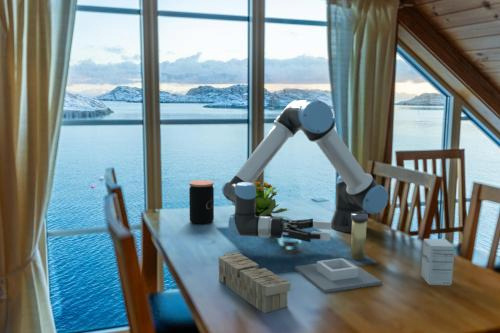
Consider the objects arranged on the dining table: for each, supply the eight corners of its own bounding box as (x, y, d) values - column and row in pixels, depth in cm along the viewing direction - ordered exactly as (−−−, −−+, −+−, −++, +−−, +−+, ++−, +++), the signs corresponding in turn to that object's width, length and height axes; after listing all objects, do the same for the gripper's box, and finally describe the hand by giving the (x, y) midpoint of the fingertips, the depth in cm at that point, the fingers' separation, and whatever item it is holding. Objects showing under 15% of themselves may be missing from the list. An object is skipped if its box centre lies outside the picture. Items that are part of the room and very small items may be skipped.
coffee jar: (209, 226, 209) (209, 185, 207) (186, 224, 211) (185, 184, 209) (216, 219, 220) (216, 180, 217) (194, 218, 222) (193, 179, 219)
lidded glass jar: (360, 254, 176) (362, 211, 173) (369, 259, 170) (371, 215, 168) (346, 255, 174) (348, 212, 171) (354, 261, 168) (357, 216, 166)
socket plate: (347, 262, 167) (347, 251, 167) (381, 284, 149) (382, 271, 148) (294, 269, 160) (295, 257, 160) (323, 293, 142) (324, 280, 141)
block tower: (216, 281, 152) (266, 316, 127) (216, 255, 151) (265, 285, 126) (238, 276, 156) (290, 309, 131) (238, 251, 155) (290, 279, 130)
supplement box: (420, 276, 156) (423, 238, 154) (443, 276, 156) (446, 238, 153) (427, 285, 148) (430, 245, 146) (452, 285, 148) (455, 246, 146)
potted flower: (294, 214, 230) (295, 178, 227) (281, 227, 208) (282, 187, 205) (245, 209, 238) (245, 174, 236) (227, 222, 216) (227, 183, 213)
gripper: (275, 227, 188) (330, 231, 185) (266, 248, 164) (329, 252, 161) (275, 209, 187) (331, 212, 184) (266, 226, 163) (330, 230, 159)
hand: (330, 231), depth 172 cm, fingers open, 13 cm apart
